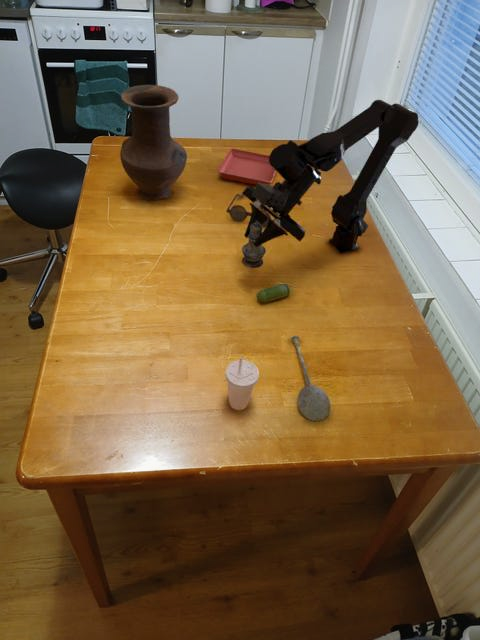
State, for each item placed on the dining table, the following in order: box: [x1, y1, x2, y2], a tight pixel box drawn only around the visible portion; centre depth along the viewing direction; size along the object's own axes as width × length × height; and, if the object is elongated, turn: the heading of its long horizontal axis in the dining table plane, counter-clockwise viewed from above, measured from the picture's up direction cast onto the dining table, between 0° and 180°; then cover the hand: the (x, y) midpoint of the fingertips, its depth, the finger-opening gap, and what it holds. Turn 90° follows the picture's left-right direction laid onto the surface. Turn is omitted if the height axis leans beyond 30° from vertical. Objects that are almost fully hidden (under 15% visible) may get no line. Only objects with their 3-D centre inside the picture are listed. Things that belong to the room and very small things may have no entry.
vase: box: [119, 84, 188, 202], centre depth 141 cm, size 19×19×30 cm
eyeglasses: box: [226, 193, 279, 228], centre depth 147 cm, size 15×15×5 cm
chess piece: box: [241, 221, 267, 269], centre depth 116 cm, size 6×6×12 cm
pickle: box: [256, 283, 292, 303], centre depth 121 cm, size 9×3×3 cm, turn 116°
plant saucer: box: [217, 148, 277, 186], centre depth 164 cm, size 18×18×3 cm
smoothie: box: [224, 356, 260, 411], centre depth 94 cm, size 6×6×14 cm
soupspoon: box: [290, 335, 331, 423], centre depth 104 cm, size 22×3×7 cm
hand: (250, 241), depth 115 cm, fingers closed on chess piece, 3 cm apart
